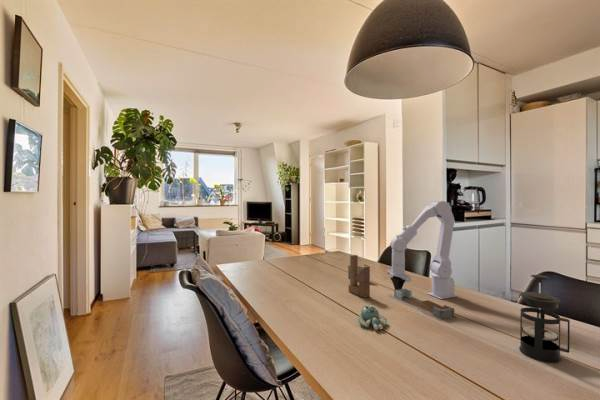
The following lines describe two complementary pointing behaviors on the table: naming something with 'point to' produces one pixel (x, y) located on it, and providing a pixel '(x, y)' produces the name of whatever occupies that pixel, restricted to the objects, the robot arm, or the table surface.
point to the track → (416, 307)
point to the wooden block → (359, 278)
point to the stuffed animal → (371, 317)
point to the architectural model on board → (358, 269)
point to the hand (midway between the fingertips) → (398, 292)
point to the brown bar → (431, 305)
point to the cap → (402, 293)
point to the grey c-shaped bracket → (443, 312)
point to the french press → (541, 327)
